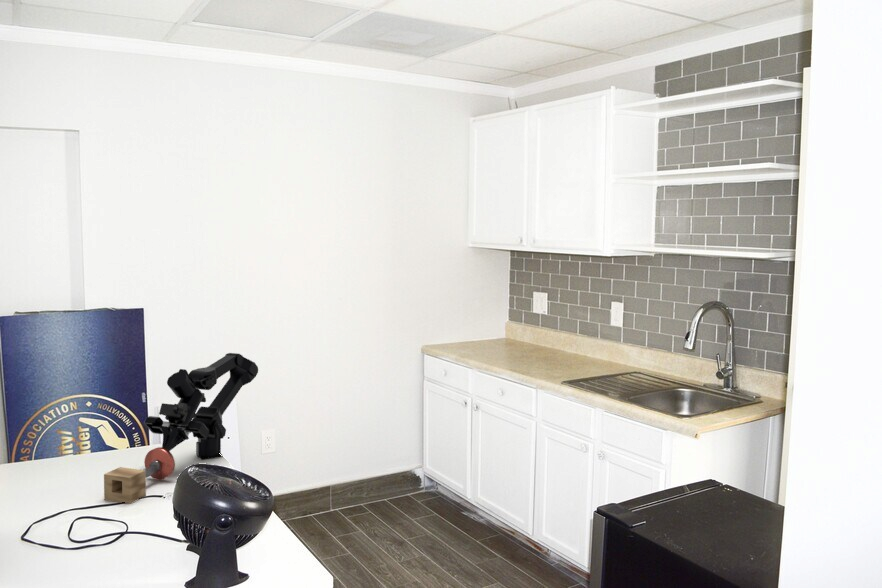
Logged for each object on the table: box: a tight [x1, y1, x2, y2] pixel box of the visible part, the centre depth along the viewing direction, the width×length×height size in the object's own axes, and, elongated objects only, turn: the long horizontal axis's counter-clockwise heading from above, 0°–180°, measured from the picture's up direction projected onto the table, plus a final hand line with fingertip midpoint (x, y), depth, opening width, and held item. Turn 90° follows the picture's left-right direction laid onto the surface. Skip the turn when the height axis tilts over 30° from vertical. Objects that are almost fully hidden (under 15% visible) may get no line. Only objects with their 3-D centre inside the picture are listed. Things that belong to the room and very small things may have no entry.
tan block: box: [103, 466, 147, 505], centre depth 184 cm, size 6×8×7 cm
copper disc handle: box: [142, 446, 176, 481], centre depth 193 cm, size 11×9×9 cm
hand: (163, 453), depth 199 cm, fingers closed
